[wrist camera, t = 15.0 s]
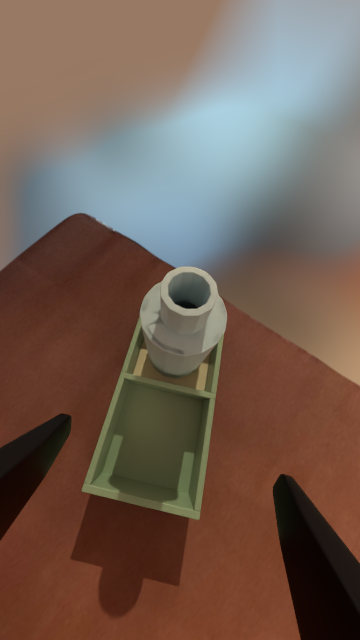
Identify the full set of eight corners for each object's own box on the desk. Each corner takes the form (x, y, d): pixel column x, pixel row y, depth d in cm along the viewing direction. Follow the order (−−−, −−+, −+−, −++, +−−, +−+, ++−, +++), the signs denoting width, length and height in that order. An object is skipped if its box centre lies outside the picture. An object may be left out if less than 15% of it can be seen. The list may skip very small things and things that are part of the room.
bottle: (167, 389, 22) (173, 363, 10) (139, 342, 24) (115, 273, 12) (212, 359, 23) (263, 306, 12) (182, 317, 25) (201, 235, 13)
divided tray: (192, 499, 19) (199, 520, 15) (96, 476, 19) (81, 491, 15) (217, 326, 26) (226, 313, 22) (148, 310, 26) (146, 294, 22)
